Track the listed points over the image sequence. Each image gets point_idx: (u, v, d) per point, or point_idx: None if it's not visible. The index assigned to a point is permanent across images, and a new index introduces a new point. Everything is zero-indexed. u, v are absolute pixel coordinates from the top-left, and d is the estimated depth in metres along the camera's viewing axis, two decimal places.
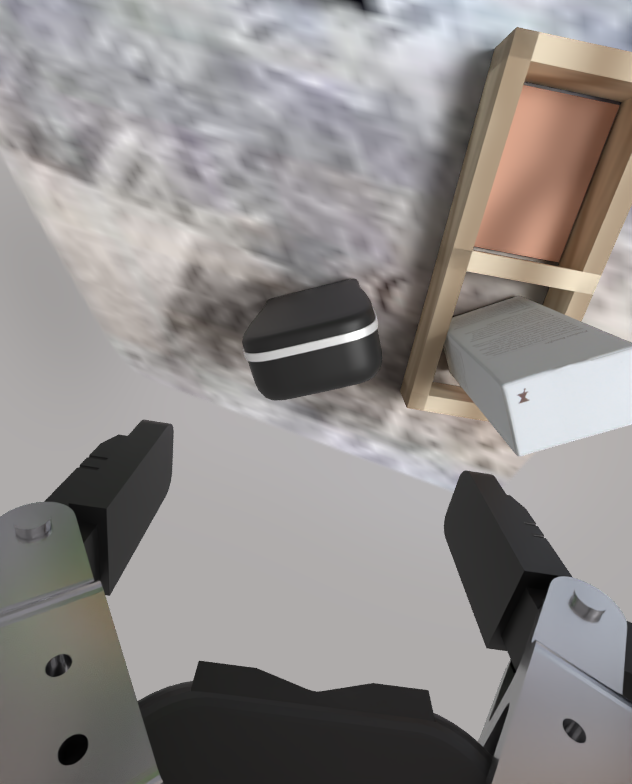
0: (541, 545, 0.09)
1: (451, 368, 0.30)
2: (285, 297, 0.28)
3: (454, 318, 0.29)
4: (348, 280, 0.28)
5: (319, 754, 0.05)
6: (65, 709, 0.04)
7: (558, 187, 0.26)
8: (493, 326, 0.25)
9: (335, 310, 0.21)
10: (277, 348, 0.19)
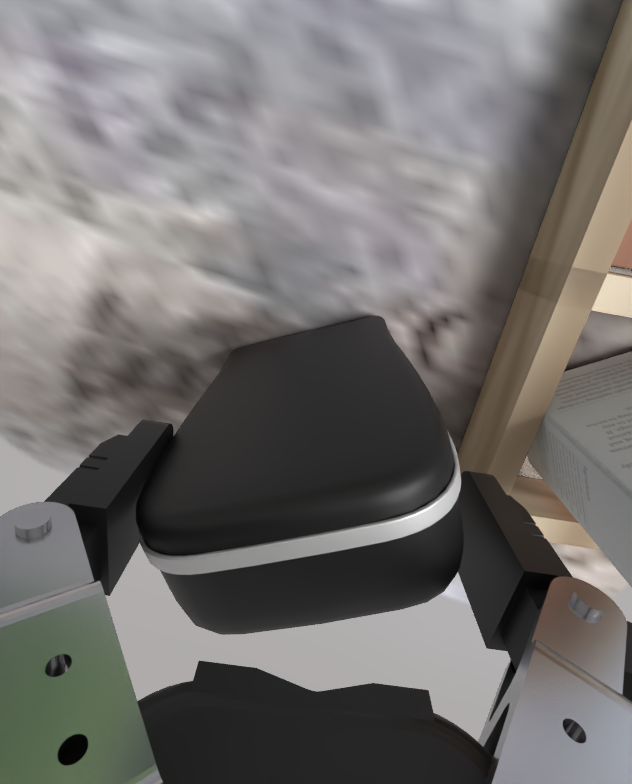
0: (541, 545, 0.09)
1: (537, 462, 0.18)
2: (259, 349, 0.16)
3: None
4: (368, 319, 0.16)
5: (319, 754, 0.05)
6: (65, 709, 0.04)
7: None
8: None
9: (356, 428, 0.09)
10: (211, 550, 0.08)
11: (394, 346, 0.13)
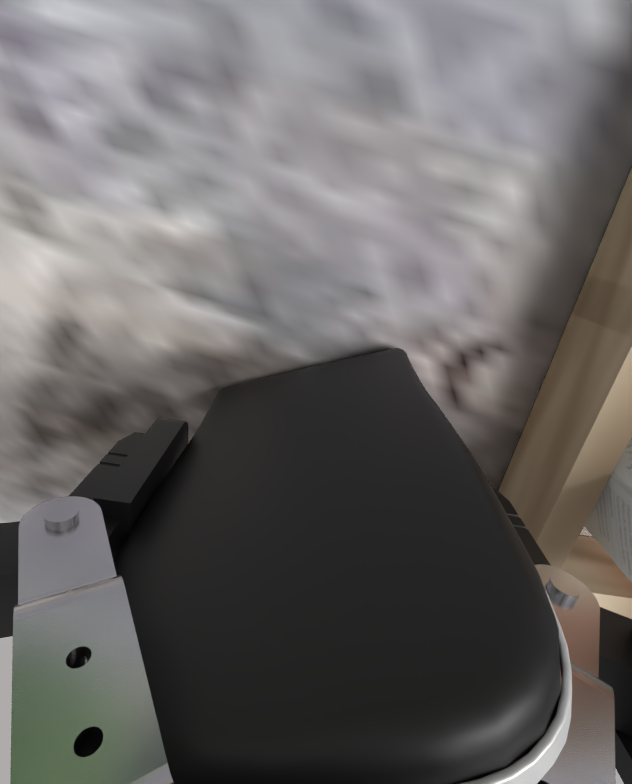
0: (522, 536, 0.10)
1: (592, 523, 0.15)
2: (252, 391, 0.13)
3: None
4: (387, 354, 0.13)
5: None
6: (83, 701, 0.04)
7: None
8: None
9: (390, 561, 0.06)
10: None
11: (427, 399, 0.10)
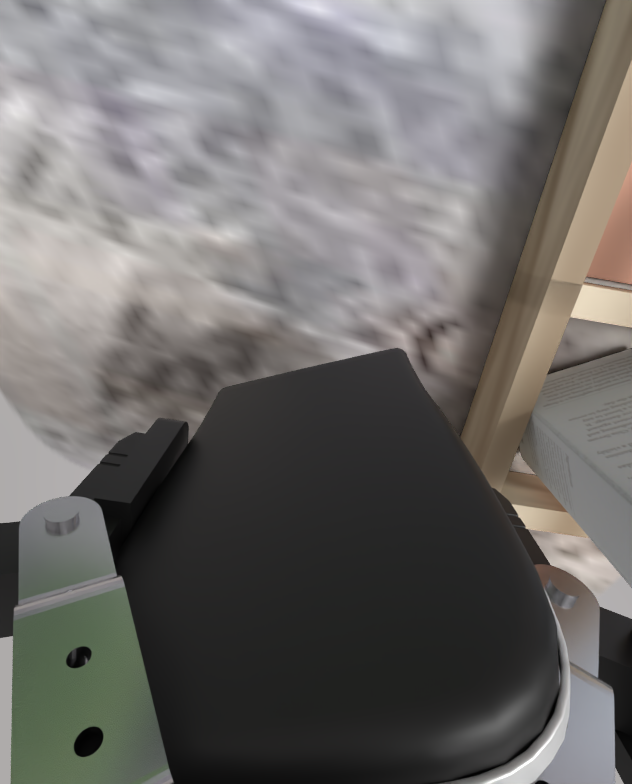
0: (522, 535, 0.10)
1: (529, 456, 0.20)
2: (252, 391, 0.13)
3: None
4: (387, 354, 0.13)
5: None
6: (83, 701, 0.04)
7: None
8: (619, 410, 0.15)
9: (390, 560, 0.06)
10: None
11: (427, 399, 0.10)
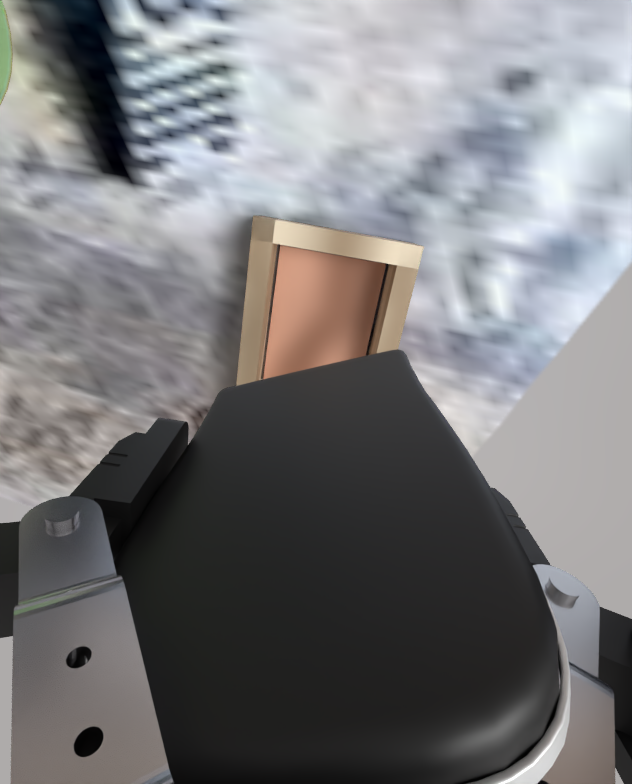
0: (522, 535, 0.10)
1: None
2: (252, 393, 0.13)
3: None
4: (387, 355, 0.13)
5: None
6: (83, 701, 0.04)
7: (342, 332, 0.28)
8: None
9: (389, 563, 0.06)
10: None
11: (427, 401, 0.10)
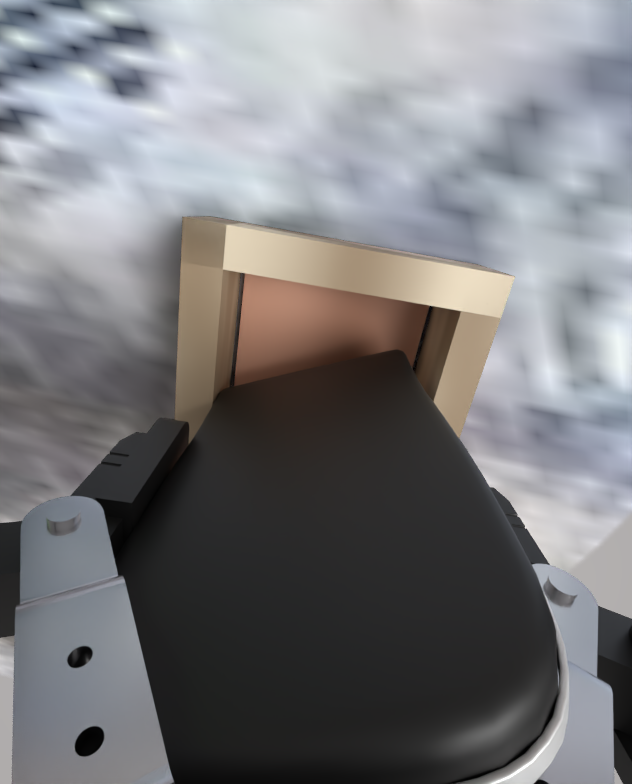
0: (521, 535, 0.10)
1: None
2: (252, 393, 0.13)
3: None
4: (387, 355, 0.13)
5: None
6: (84, 700, 0.04)
7: None
8: None
9: (389, 562, 0.06)
10: None
11: (426, 400, 0.10)
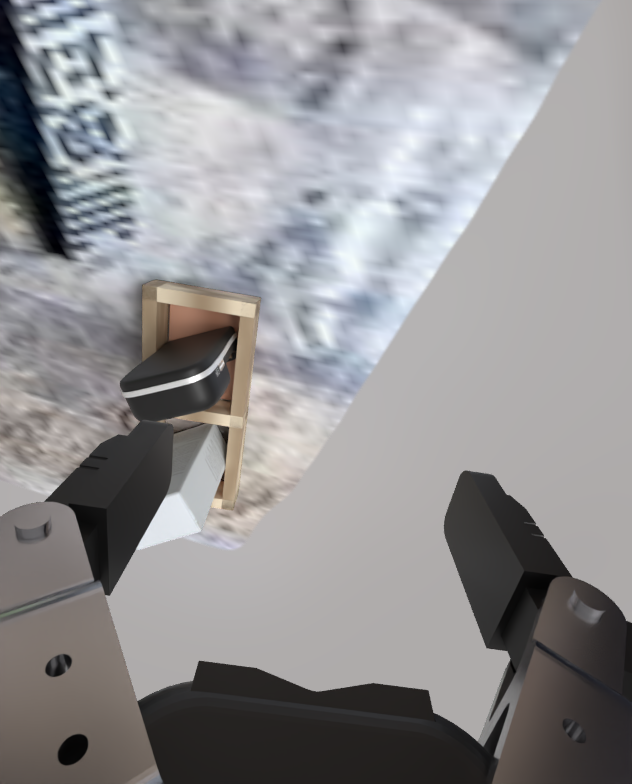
0: (541, 545, 0.09)
1: None
2: (177, 341, 0.38)
3: None
4: (225, 328, 0.38)
5: (319, 754, 0.05)
6: (65, 709, 0.04)
7: None
8: None
9: (185, 360, 0.30)
10: (139, 389, 0.29)
11: (220, 338, 0.34)
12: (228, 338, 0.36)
